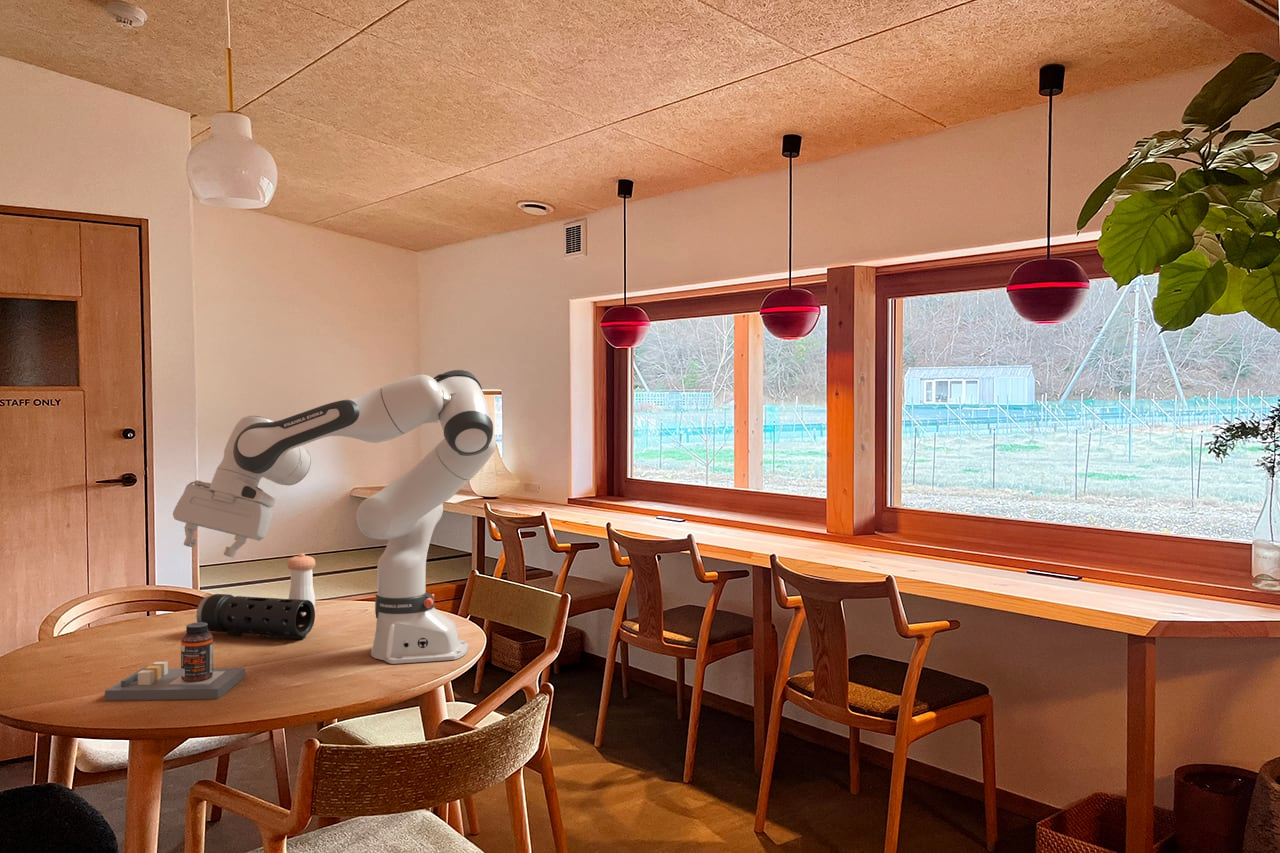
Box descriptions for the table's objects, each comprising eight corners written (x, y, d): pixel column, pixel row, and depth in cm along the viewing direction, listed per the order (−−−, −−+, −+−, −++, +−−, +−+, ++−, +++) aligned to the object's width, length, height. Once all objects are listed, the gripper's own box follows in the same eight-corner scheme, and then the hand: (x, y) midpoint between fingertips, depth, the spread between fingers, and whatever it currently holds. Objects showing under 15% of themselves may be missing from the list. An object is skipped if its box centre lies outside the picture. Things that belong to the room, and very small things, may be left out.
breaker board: (245, 676, 191) (244, 656, 191) (217, 698, 178) (217, 676, 177) (140, 678, 190) (140, 657, 190) (105, 700, 176) (104, 678, 176)
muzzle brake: (294, 645, 216) (294, 603, 216) (194, 638, 222) (193, 598, 222) (316, 635, 226) (315, 595, 225) (219, 628, 231) (218, 589, 231)
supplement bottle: (180, 684, 179) (180, 629, 179) (181, 676, 185) (180, 622, 184) (213, 680, 182) (212, 626, 182) (213, 672, 187) (212, 619, 187)
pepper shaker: (314, 627, 233) (314, 555, 232) (285, 629, 231) (284, 556, 230) (318, 620, 240) (317, 550, 239) (289, 622, 238) (289, 551, 237)
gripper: (181, 474, 187) (155, 537, 183) (268, 494, 183) (243, 559, 179) (198, 482, 193) (173, 543, 189) (282, 502, 189) (259, 564, 185)
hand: (208, 551), depth 184 cm, fingers open, 8 cm apart
